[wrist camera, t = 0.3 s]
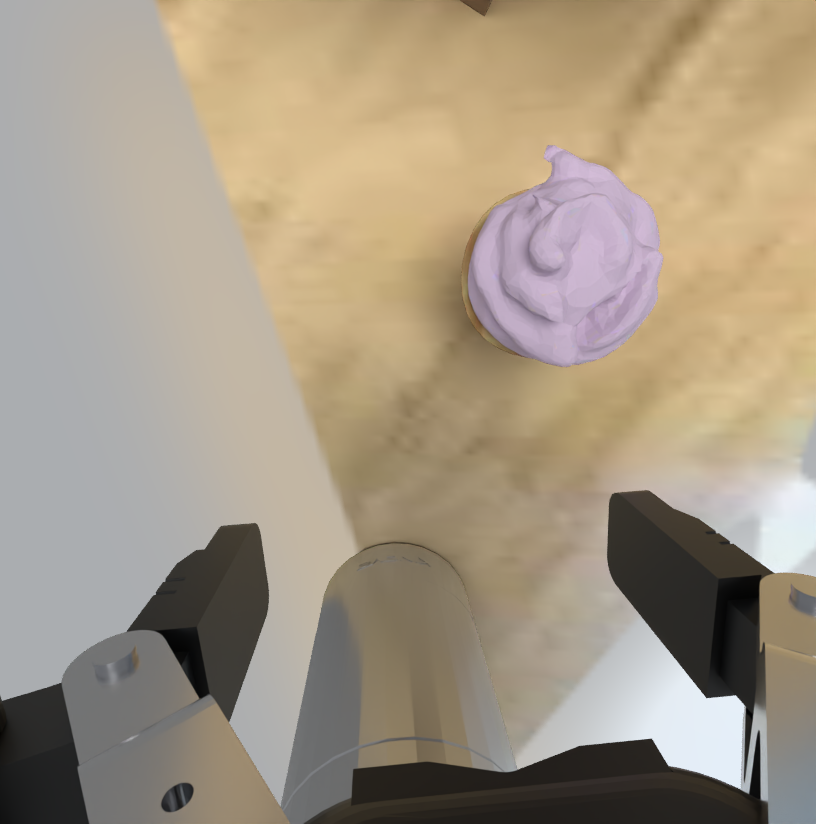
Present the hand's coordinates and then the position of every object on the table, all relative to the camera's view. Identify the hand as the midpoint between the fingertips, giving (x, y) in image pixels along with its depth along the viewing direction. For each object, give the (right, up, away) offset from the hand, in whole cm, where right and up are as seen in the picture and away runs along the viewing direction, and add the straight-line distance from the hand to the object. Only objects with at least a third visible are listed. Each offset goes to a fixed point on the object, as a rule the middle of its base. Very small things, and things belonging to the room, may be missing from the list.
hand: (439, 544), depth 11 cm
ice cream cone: (+4, +10, +17) cm, 20 cm away
